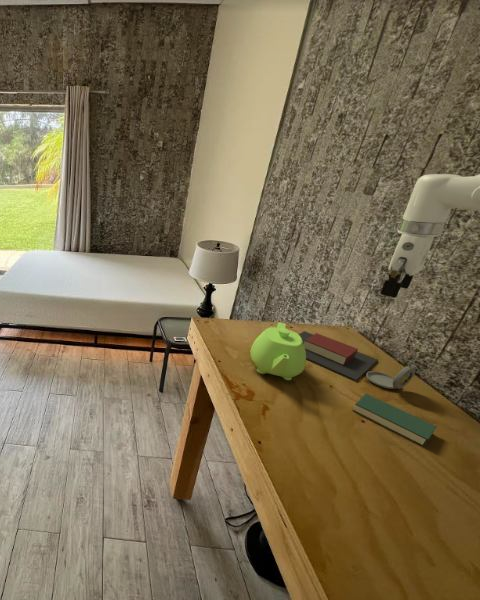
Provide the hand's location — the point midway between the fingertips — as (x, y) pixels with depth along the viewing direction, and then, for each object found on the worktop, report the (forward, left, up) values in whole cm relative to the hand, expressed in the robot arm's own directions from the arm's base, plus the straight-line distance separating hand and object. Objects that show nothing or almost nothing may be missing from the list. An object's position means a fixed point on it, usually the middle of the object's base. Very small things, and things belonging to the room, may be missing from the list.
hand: (394, 291), depth 85 cm
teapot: (+13, +27, -22) cm, 37 cm away
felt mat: (+7, +7, -22) cm, 24 cm away
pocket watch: (-8, +10, -22) cm, 25 cm away
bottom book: (-13, +25, -22) cm, 36 cm away
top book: (+7, +7, -21) cm, 23 cm away
